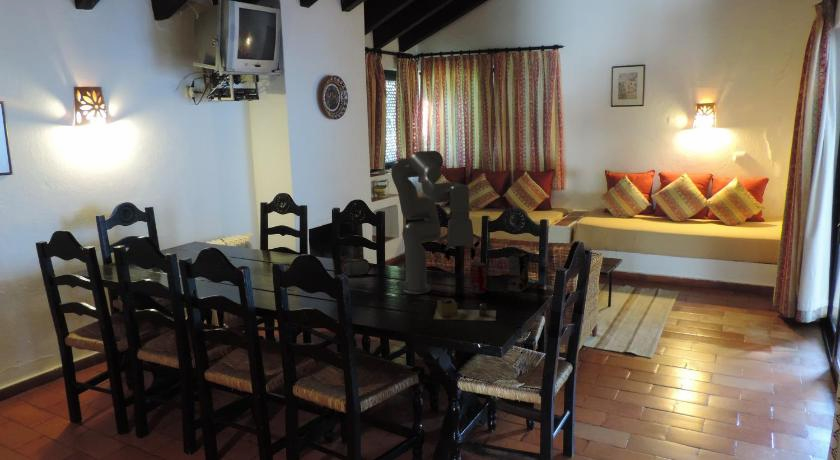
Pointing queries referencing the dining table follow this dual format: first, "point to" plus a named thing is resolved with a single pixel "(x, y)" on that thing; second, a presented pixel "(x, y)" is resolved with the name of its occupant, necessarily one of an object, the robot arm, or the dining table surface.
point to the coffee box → (518, 272)
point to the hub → (482, 310)
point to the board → (468, 315)
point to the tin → (355, 267)
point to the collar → (447, 308)
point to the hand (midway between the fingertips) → (460, 259)
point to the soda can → (478, 278)
